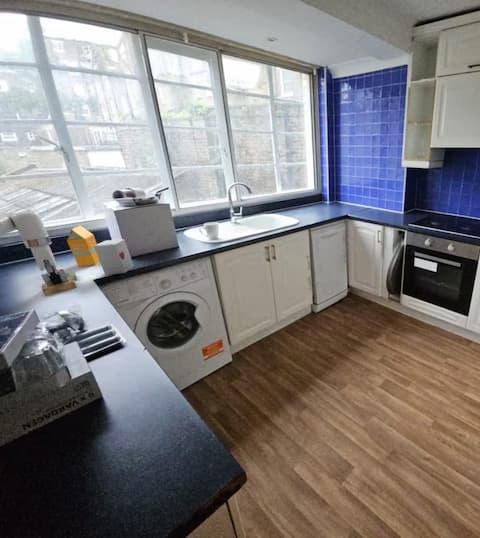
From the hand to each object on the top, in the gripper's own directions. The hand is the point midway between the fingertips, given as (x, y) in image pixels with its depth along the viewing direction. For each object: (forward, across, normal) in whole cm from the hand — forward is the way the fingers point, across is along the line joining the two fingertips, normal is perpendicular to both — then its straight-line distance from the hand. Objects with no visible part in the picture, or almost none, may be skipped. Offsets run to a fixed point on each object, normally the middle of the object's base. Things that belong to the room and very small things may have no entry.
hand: (57, 281), depth 128 cm
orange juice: (+4, -31, +13) cm, 34 cm away
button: (0, -10, +1) cm, 11 cm away
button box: (+3, -10, +1) cm, 11 cm away
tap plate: (+3, 0, 0) cm, 3 cm away
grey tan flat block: (0, 0, 0) cm, 0 cm away
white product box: (+4, -5, +22) cm, 23 cm away
